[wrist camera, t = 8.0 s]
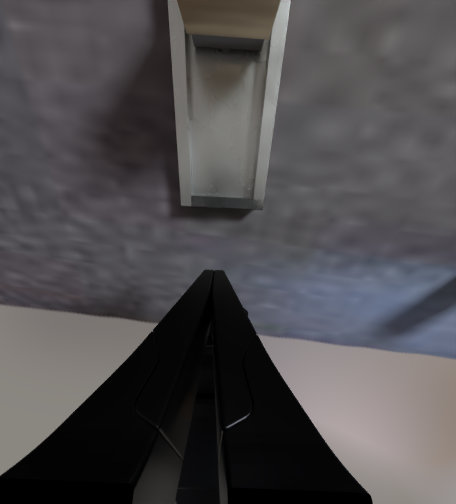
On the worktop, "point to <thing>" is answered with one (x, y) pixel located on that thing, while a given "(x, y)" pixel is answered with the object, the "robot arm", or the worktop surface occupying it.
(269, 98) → the fader track
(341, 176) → the worktop surface
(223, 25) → the lever
